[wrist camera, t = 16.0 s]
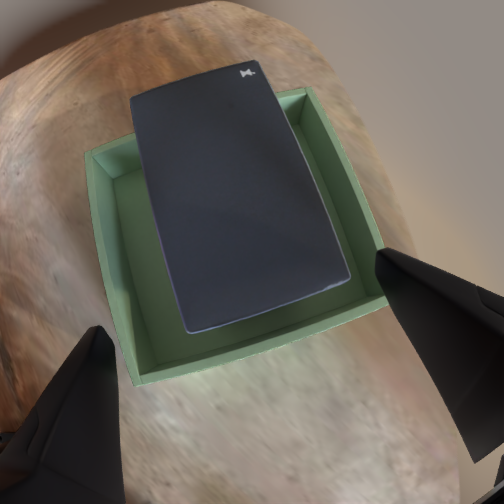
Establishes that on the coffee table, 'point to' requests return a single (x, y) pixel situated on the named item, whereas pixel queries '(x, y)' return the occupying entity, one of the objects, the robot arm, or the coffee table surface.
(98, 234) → the basket
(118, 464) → the robot arm
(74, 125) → the coffee table surface
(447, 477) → the coffee table surface
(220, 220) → the small box
